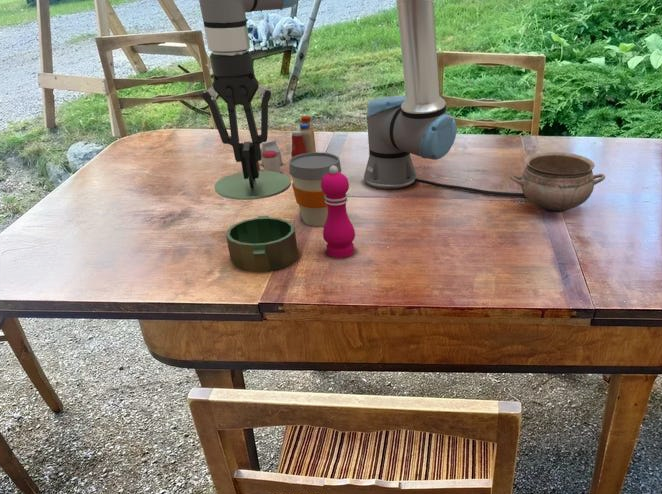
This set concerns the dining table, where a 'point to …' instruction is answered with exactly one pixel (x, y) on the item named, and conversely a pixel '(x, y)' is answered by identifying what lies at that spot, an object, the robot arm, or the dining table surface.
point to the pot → (262, 244)
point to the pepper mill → (337, 215)
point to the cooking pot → (557, 180)
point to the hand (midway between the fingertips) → (251, 176)
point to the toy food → (300, 145)
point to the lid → (252, 182)
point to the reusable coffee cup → (311, 184)
